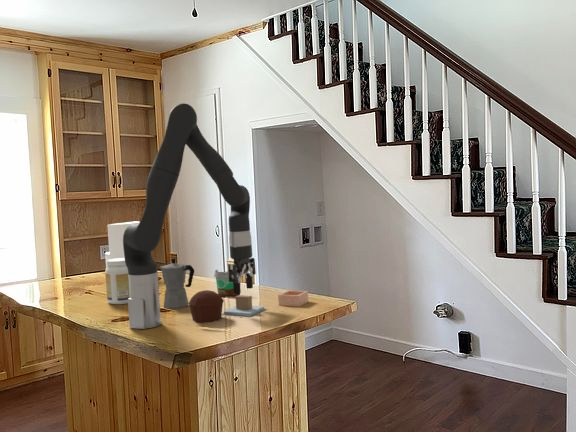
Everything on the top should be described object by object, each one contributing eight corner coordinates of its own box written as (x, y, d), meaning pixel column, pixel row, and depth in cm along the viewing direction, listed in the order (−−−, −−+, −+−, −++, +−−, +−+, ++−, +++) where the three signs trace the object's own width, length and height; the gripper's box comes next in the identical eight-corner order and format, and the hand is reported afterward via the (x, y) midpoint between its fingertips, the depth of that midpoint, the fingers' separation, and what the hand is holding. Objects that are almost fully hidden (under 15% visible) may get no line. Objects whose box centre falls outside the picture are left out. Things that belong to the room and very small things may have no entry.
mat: (250, 319, 180) (250, 317, 180) (220, 317, 186) (219, 314, 186) (268, 311, 191) (268, 308, 191) (238, 309, 196) (238, 306, 196)
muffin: (182, 322, 181) (181, 292, 181) (210, 315, 189) (208, 286, 188) (204, 328, 173) (202, 296, 172) (232, 320, 180) (230, 290, 180)
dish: (299, 308, 192) (298, 296, 192) (278, 307, 196) (278, 294, 196) (308, 303, 200) (307, 291, 199) (288, 302, 203) (288, 290, 203)
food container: (208, 296, 220) (207, 272, 220) (217, 293, 226) (216, 269, 225) (234, 298, 215) (233, 273, 214) (243, 295, 220) (241, 270, 219)
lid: (249, 316, 182) (248, 300, 181) (224, 314, 186) (223, 298, 186) (264, 309, 191) (263, 293, 190) (239, 307, 195) (238, 292, 195)
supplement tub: (145, 298, 223) (142, 256, 222) (128, 305, 212) (125, 261, 211) (118, 298, 227) (115, 257, 226) (101, 304, 215) (97, 261, 214)
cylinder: (151, 277, 274) (147, 221, 272) (123, 284, 259) (119, 224, 257) (126, 275, 283) (123, 221, 281) (99, 281, 268) (95, 224, 266)
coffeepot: (154, 308, 205) (150, 260, 204) (169, 302, 213) (166, 256, 212) (188, 310, 198) (185, 260, 197) (203, 304, 207) (200, 256, 206)
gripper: (241, 241, 195) (244, 286, 197) (219, 247, 183) (223, 295, 184) (260, 241, 192) (263, 287, 194) (239, 247, 179) (242, 296, 181)
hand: (243, 290), depth 189 cm, fingers open, 8 cm apart
